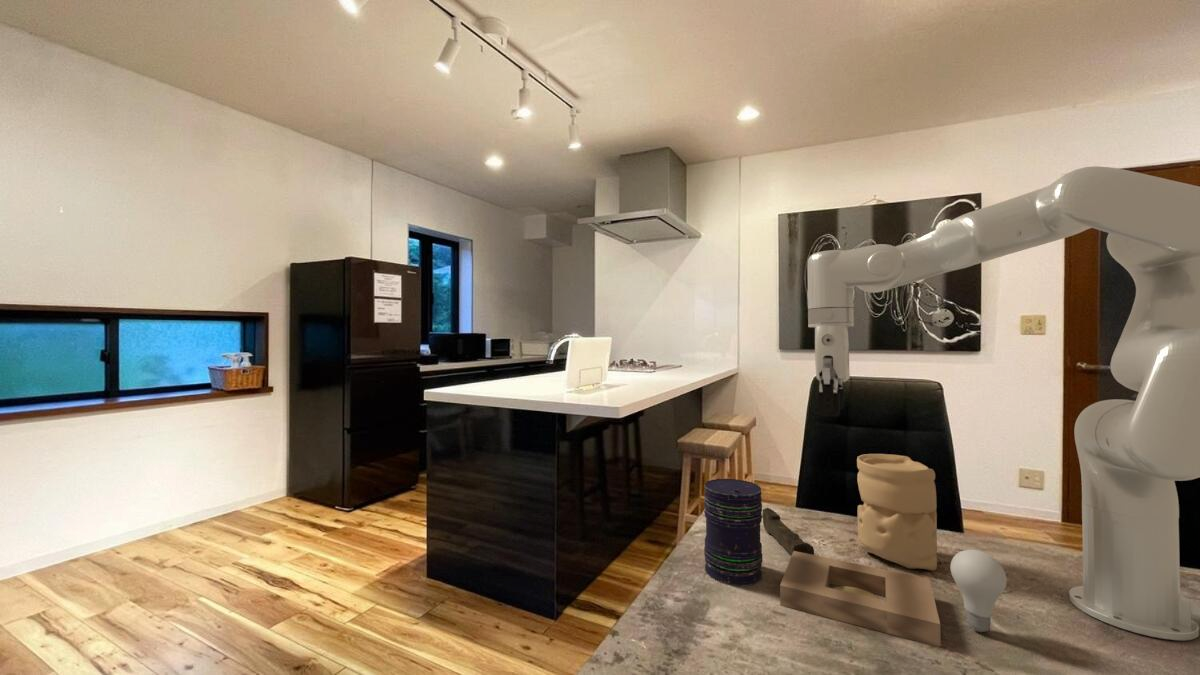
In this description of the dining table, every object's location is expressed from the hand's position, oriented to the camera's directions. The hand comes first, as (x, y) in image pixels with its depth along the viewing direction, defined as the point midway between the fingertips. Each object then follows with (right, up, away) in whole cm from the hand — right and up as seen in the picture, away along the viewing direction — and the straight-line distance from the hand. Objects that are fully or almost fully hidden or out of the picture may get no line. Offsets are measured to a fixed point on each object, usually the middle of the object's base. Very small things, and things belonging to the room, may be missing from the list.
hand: (831, 412), depth 86 cm
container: (+13, -28, +2) cm, 31 cm away
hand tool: (-6, -28, +9) cm, 30 cm away
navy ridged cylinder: (-19, -28, -3) cm, 34 cm away
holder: (-3, -27, -13) cm, 30 cm away
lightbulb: (+10, -27, -20) cm, 36 cm away
